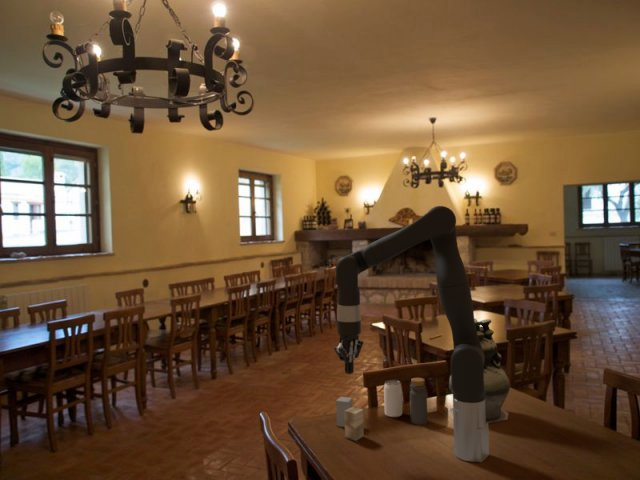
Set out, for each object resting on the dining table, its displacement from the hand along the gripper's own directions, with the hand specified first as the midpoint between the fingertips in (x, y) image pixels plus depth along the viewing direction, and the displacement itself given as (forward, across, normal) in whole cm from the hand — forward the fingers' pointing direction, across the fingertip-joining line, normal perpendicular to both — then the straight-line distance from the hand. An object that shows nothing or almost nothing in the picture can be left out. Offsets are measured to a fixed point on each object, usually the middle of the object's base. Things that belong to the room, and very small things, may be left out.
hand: (349, 373), depth 157 cm
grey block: (+23, +13, +12) cm, 29 cm away
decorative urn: (+22, +48, -23) cm, 58 cm away
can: (+23, +31, +2) cm, 39 cm away
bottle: (+23, +30, -8) cm, 39 cm away
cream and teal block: (+23, +6, +2) cm, 24 cm away
